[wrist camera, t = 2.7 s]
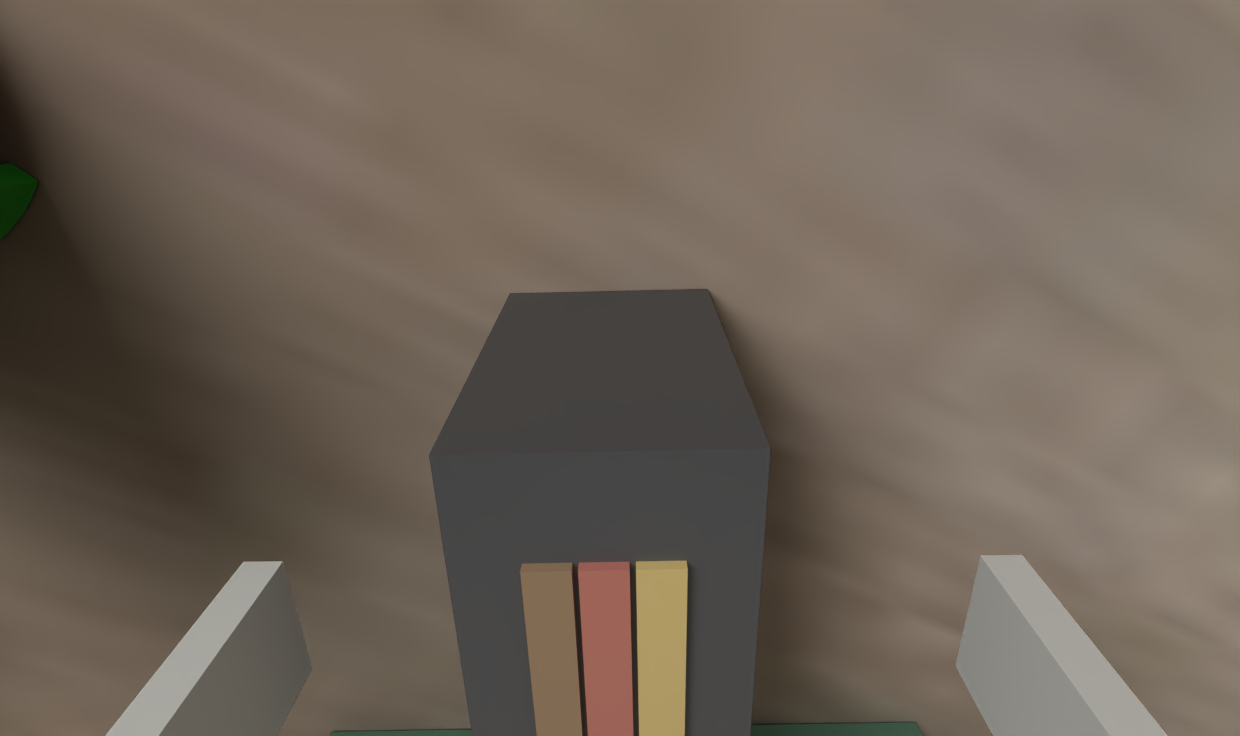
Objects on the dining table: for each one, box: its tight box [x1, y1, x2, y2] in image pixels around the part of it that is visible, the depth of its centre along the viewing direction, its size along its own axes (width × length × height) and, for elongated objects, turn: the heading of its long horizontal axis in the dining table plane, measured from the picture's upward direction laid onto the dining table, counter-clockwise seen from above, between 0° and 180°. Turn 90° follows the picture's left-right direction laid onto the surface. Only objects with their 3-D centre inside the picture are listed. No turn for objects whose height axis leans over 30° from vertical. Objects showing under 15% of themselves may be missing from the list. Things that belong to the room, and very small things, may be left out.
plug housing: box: [429, 289, 771, 736], centre depth 15 cm, size 5×9×8 cm, turn 1°
